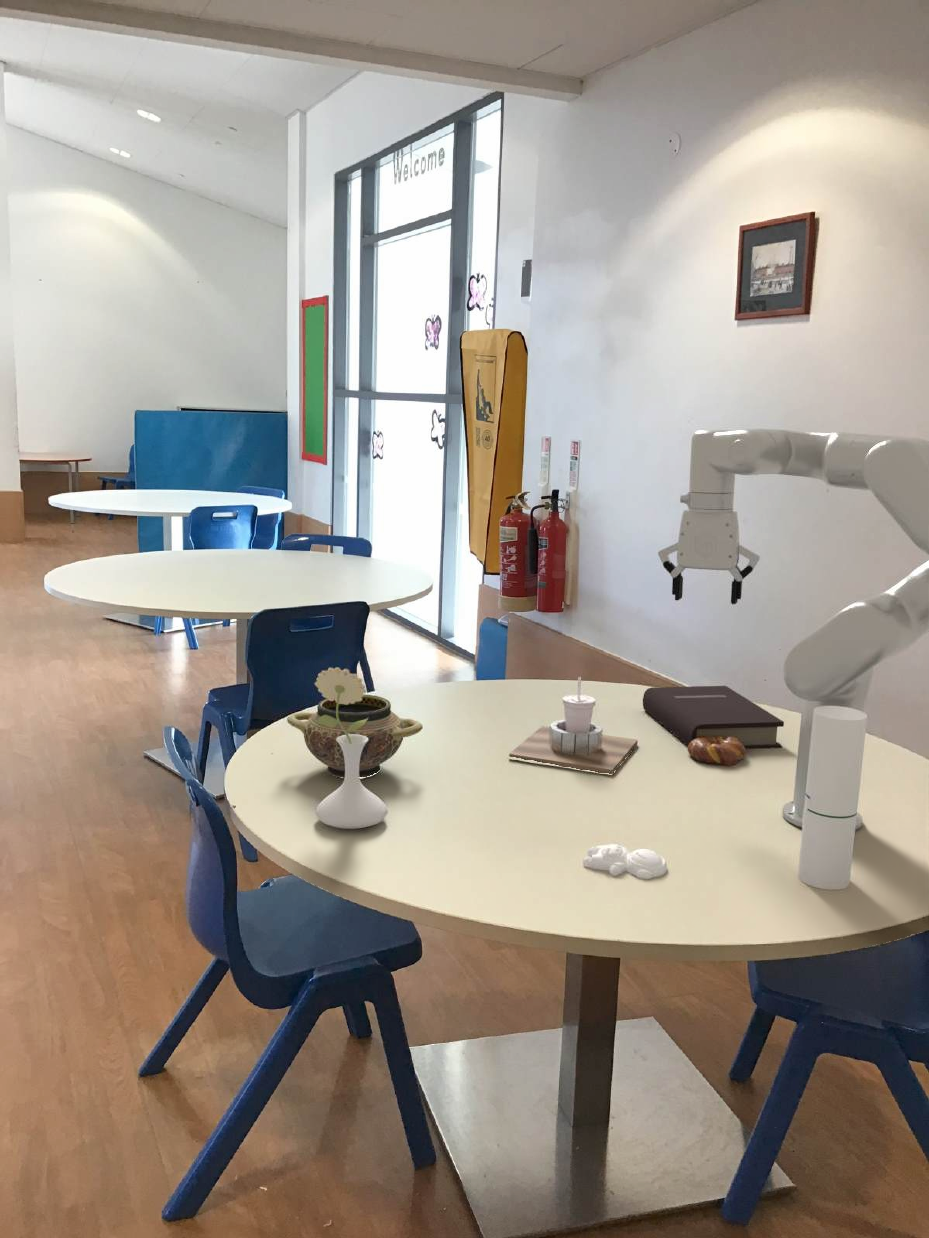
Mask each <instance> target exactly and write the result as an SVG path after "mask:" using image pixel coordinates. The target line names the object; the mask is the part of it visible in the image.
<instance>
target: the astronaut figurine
mask: <svg viewBox="0 0 929 1238" xmlns="http://www.w3.org/2000/svg"><path fill="white" fill-rule="evenodd" d="M587 854H588V856H586V857H585V858H583V861H582V865H583V867H585V868H589V869H595V870H600V871H601V870H602V871H608V872H609V875H611V876H618V875H620V874H622V873H624V872H627V873H629V874H632V875H635V877H636V878H638V879H641V880H649V879H652V878H657V877H660V876H663V875H665V874H666V872H667V869H668V865H667V862H666V860H665V858H664V857H663V856H661V854H659V853H658V852H656V851H653V850H651V849H647V848H639V849H636V850H634V851H631V852H629V850H628V848H626V846H622V845H620V844H617V843H615V844H614V843H613V844H612V843H610V844H609V843H608V844H605V845H596V846H592V847H590V848H588V850H587Z"/></svg>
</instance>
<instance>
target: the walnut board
mask: <svg viewBox="0 0 929 1238" xmlns="http://www.w3.org/2000/svg"><path fill="white" fill-rule="evenodd" d="M549 731H550V726H544V725H542V726H540V727H539V728H538V729H537V730H535V732H534V733H532V734H531V735H530V736H529V737H528V738H526V739H525V740H524V741H522V742H521V743H520V744H519V745H517V747H515V748H514V749H513V750H512V751H510V752H509V755H508V757H509V756H510V757H516V758H521V759H524V760H534V761H537V762H542V763H550V764H555V765H559V766H562V767H571V768H576V769H580V770H590V771H595V772H598V773H609V774H612V773H614V771H615V770H616V769H617V768H618V767H619V766H620V764H621V763H622V762H623V761H624V760H625V758H626V757H627V756H628V755H629V754H630V753H631V751H632V750H633V749H634V748H635V746H636V747H638V741H639V740H638V739H636V738H635V739H633V738H628V737H621V736H614V735H608V734H602V748H601V750H600V751H599V752H597V753H593V754H589V755H588V754H587V755H575V754H574V755H572V754H565V753H562V752H561V753H560V752H558V751H555V750H553V749H551V747H550V746H549ZM635 749H636V748H635ZM635 749H634V750H635ZM634 750H633V751H634ZM633 751H632V752H633ZM631 754H632V753H631ZM631 754H630V755H631ZM630 755H629V756H630ZM629 756H628V757H629ZM628 757H627V758H628ZM625 761H626V760H625ZM625 761H624V762H625ZM624 762H623V763H624ZM623 763H622V764H623ZM620 767H621V766H620ZM620 767H619V768H620ZM619 768H618V769H619ZM618 769H617V770H618ZM614 774H615V773H614Z"/></svg>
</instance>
